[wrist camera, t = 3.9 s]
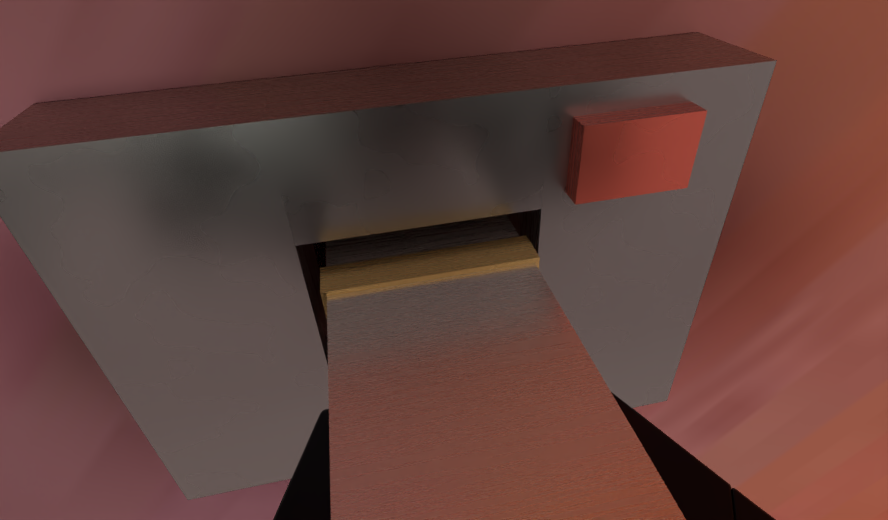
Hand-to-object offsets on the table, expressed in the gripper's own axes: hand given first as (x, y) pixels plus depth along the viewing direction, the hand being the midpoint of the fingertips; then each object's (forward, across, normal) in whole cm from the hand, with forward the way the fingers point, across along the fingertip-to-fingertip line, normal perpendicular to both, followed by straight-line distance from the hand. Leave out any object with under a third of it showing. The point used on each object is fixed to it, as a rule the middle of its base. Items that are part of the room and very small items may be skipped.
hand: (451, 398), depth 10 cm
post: (+4, 0, 0) cm, 4 cm away
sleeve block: (+5, 0, 0) cm, 5 cm away
